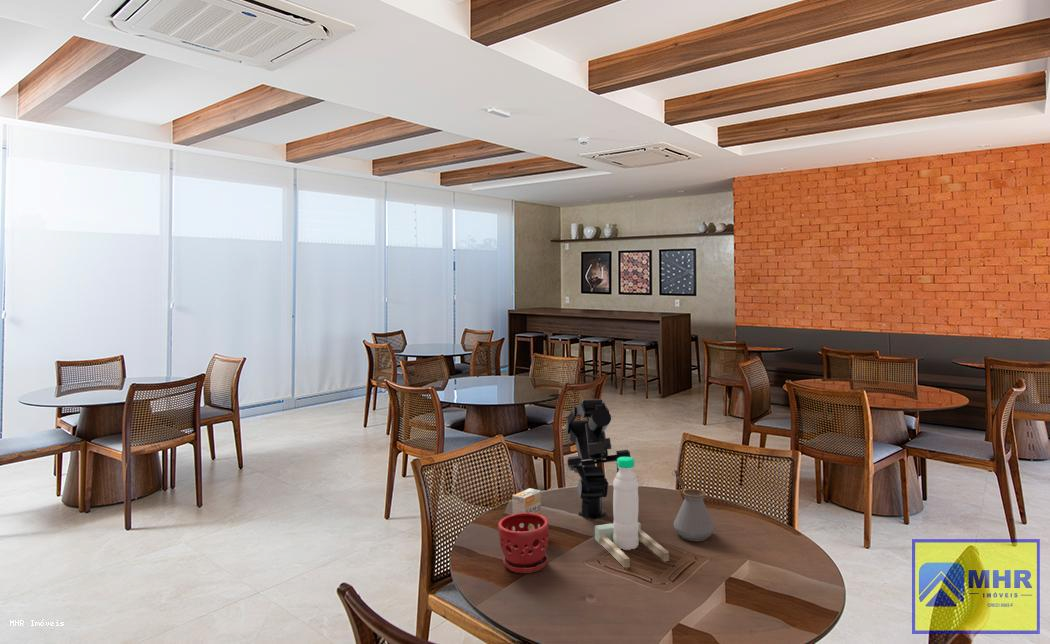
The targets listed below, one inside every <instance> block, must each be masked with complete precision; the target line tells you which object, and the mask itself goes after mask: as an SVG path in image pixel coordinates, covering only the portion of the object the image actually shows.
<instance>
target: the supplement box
mask: <svg viewBox="0 0 1050 644" xmlns="http://www.w3.org/2000/svg"><path fill="white" fill-rule="evenodd" d="M511 500H512V515H513V514H518V513H535V514H539V515H542V491H541V490H539V489H535V488H530V487H529V488H527V489H524V490H522V491H519V492H516V493H514V494H512V499H511ZM519 526H520V527H523V526H524V524H523V523H520V525H519ZM538 528H540V524H538ZM528 529H529V530H530V531H531V530H535V527H534V525H533V524H529V525H528ZM514 530H515V527H514V526H513V527H512V531H514ZM518 532H519V531H518Z"/></svg>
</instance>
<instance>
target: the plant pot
mask: <svg viewBox="0 0 1050 644" xmlns="http://www.w3.org/2000/svg"><path fill="white" fill-rule="evenodd" d="M520 523H523V524H524V526H523V527H520V526H519V525H520ZM529 524H533V525H534V527H535V530H531V531H530V530H529V529H528V525H529ZM538 524H540V528H538ZM513 526H514V527H515V530H514V531H513ZM518 531H519V532H518ZM549 536H550V527H549V521H548V518H547V517H545V516H544V515H542V514H541V515H539V514H535V513H518V514H513V513H512V514H510V515H507V516H505V517H503V518H501V519H500V521H498V538H499V544H500V548H501V551H502V554H503V556H504V557H503V564H504V566H505V567H506V569H508V570H510V571H512V572H514V573H518V574H530V573H531V574H532V573H534V572H538V571H540V570H542V569H543V568H544V567H545V566H546V564H547V563H548V560H549V558H548V557H549V556H548V555H547V554H546V553H547V550H548V545H549V538H550V537H549Z"/></svg>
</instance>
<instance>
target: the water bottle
mask: <svg viewBox="0 0 1050 644" xmlns="http://www.w3.org/2000/svg"><path fill="white" fill-rule="evenodd" d="M617 465H618V468H619V471H618V473H617V472H616V475H615V477H614V479H613V482H612V486H613V494H612V495H613V496H612V506H613V507H612V513H613V530H614V534H613V543H614V544H615V545H616V546H617V547H618V548H619V549H620V550H621V549H623V550H622V551H632V550H631V549H633V550H635V549H636V548H638V547H639V542H640V541H639V540H638V522H639V482H638V479H637V477H636V474H635V472H634V468H635V459H634V457H631V456H630V457H619V458H618V459H617V461H616V466H617Z"/></svg>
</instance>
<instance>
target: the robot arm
mask: <svg viewBox="0 0 1050 644" xmlns="http://www.w3.org/2000/svg"><path fill="white" fill-rule="evenodd" d="M578 417H580V418H581V417H582V418H583V419H577V420H576V418H578ZM611 421H612V415H611V413H610V410H609V408H608V406H607V405H606V403H605V402H603V399H602V398H588V399H587V398H585V399H581V401H580V403H579V404H575V405H573V406H572V411H571V412H570V413H569V414H568V415H567V416H566V422H565V433H566V434H567V435H568V439H569V440H570V441H571V442H572V443H574V444H575V446H576V450H577V455H575V456H569V457H568V458H567V466H568V468H569V471H573V473H575V474H578V475H579V476H580V479H579V481H578V485H577V486H576V487H577V495H578V497H579V498H580V499H581V511H579V512H578V514H577V515H578V516H582V517H585V518H588V519H591V520H596V519H597V520H598V518H601V517H603V516H605V515H606V514H607V513H606V512H605V511H603V505H602V503H603V498H607V495H608V489H609V484H610V483H609V482H608V479H607V478H606V477H605V473H604V471H603V467H602V466H599V465H597V466H596V464H606V463H612V462H614V463H615V462H617V459H618V458H619V457H631V452H630V450H628V449H621V450H616V452H615V453H616V454H612V455H609V451H608V450H611V449H612V444H611V443H612V442H611V438H610V437H608V438H607V437H606V430H607V428H608V426H609V425H610V423H611ZM618 471H619V468H618V465H617V464H616V474H617V473H618Z"/></svg>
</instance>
